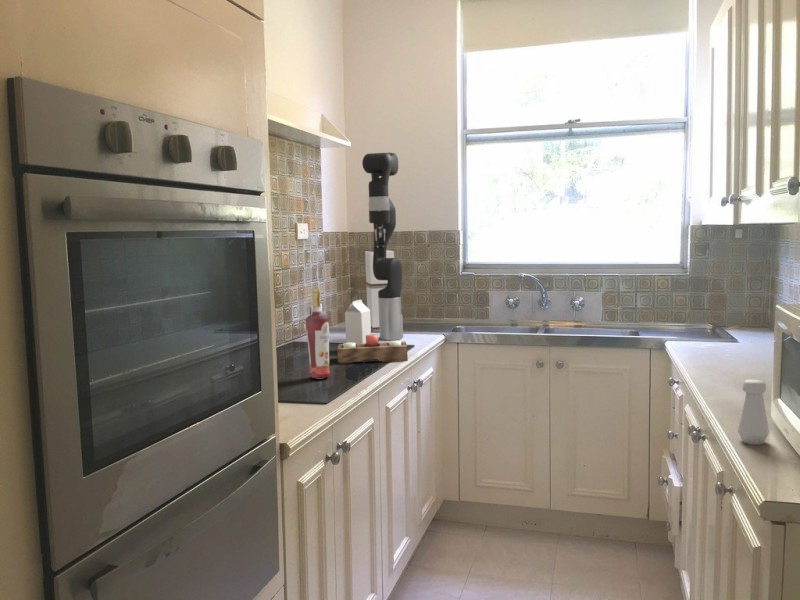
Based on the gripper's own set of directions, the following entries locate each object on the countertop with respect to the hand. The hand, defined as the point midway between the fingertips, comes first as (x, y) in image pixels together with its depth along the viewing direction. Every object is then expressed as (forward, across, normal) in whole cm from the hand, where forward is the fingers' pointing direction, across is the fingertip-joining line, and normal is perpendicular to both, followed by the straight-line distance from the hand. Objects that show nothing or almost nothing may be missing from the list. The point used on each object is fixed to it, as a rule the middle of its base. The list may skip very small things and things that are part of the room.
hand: (381, 257), depth 248 cm
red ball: (+30, +11, -4) cm, 32 cm away
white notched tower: (+35, -56, 0) cm, 66 cm away
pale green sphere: (+33, +11, -12) cm, 36 cm away
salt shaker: (+35, +114, +74) cm, 140 cm away
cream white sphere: (+33, +10, +4) cm, 34 cm away
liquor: (+35, +37, -21) cm, 55 cm away
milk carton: (+35, -7, -10) cm, 37 cm away
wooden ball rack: (+35, +10, -4) cm, 37 cm away
